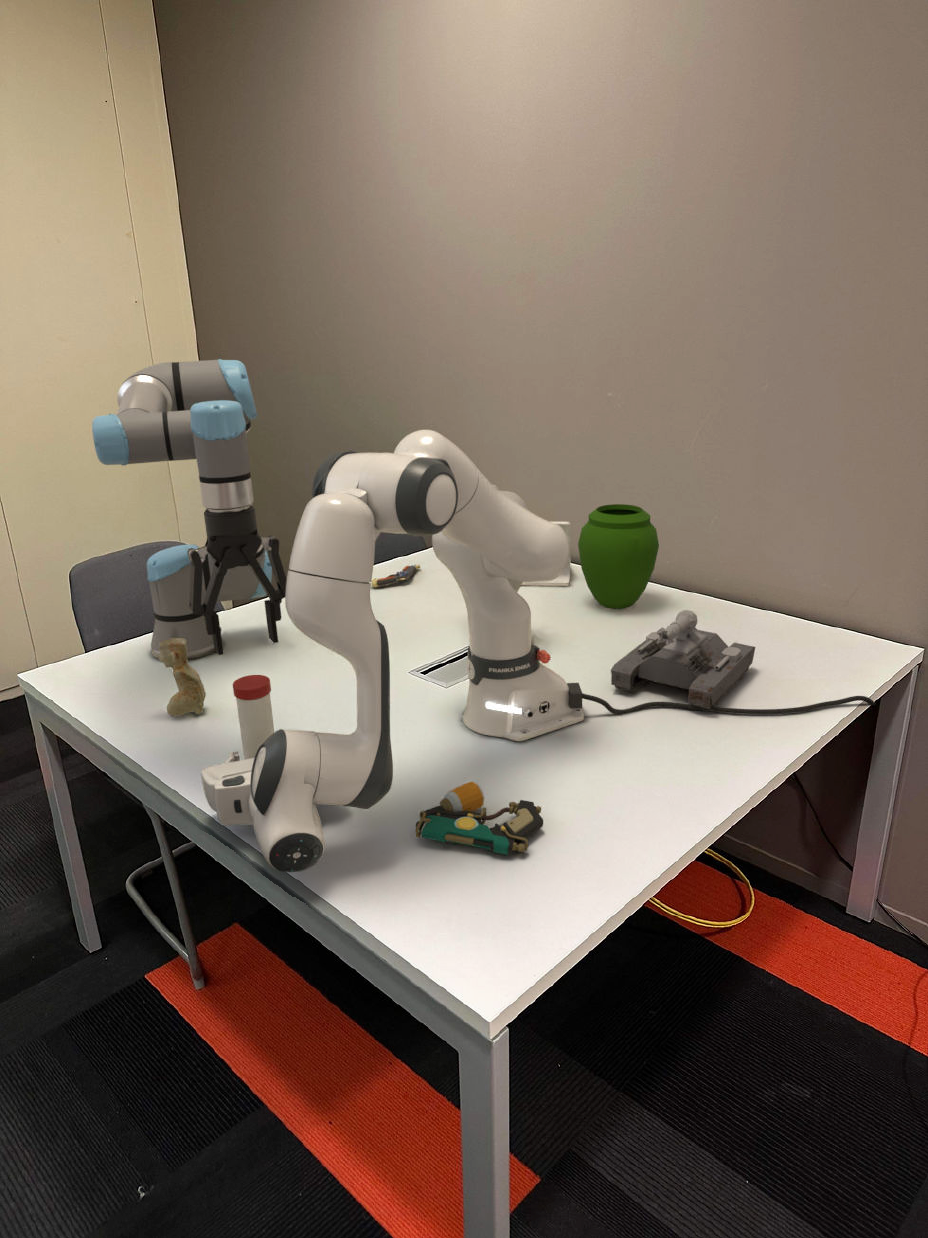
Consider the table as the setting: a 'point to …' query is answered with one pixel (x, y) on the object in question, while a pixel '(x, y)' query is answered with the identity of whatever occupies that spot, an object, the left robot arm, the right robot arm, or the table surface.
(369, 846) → the table surface
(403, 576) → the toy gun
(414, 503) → the right robot arm
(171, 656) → the sculpture
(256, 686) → the lid
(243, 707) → the jar
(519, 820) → the spray gun
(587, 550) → the vase
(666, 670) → the toy
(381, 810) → the table surface
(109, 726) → the table surface
